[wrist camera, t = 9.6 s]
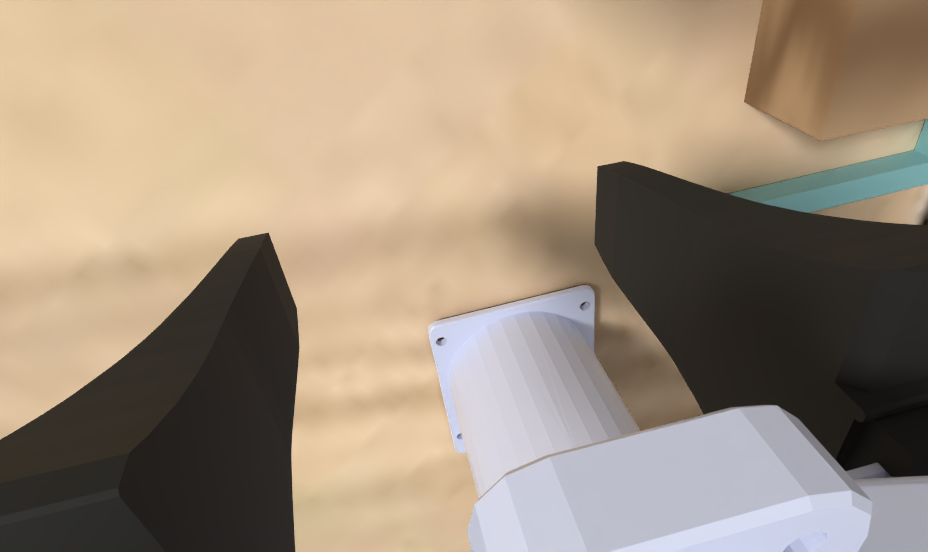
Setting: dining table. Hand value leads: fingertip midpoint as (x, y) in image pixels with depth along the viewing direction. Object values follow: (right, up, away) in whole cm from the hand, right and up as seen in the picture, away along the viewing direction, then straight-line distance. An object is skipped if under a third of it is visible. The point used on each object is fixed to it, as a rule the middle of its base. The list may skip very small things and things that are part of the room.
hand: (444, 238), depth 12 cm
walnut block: (+14, +9, +9) cm, 20 cm away
